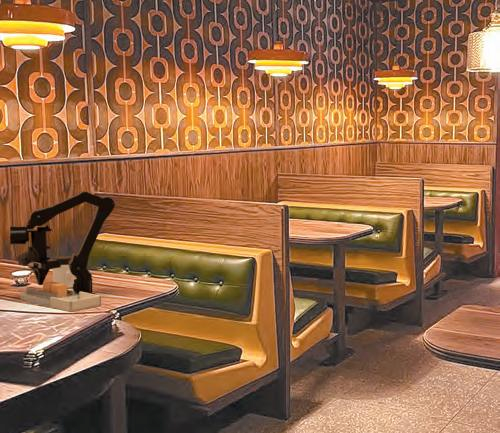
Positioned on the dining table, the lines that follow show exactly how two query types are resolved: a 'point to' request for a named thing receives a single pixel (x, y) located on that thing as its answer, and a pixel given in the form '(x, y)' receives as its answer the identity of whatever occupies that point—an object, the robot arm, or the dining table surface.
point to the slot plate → (45, 296)
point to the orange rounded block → (48, 286)
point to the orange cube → (59, 289)
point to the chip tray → (76, 302)
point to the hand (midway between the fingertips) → (40, 285)
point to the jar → (63, 272)
